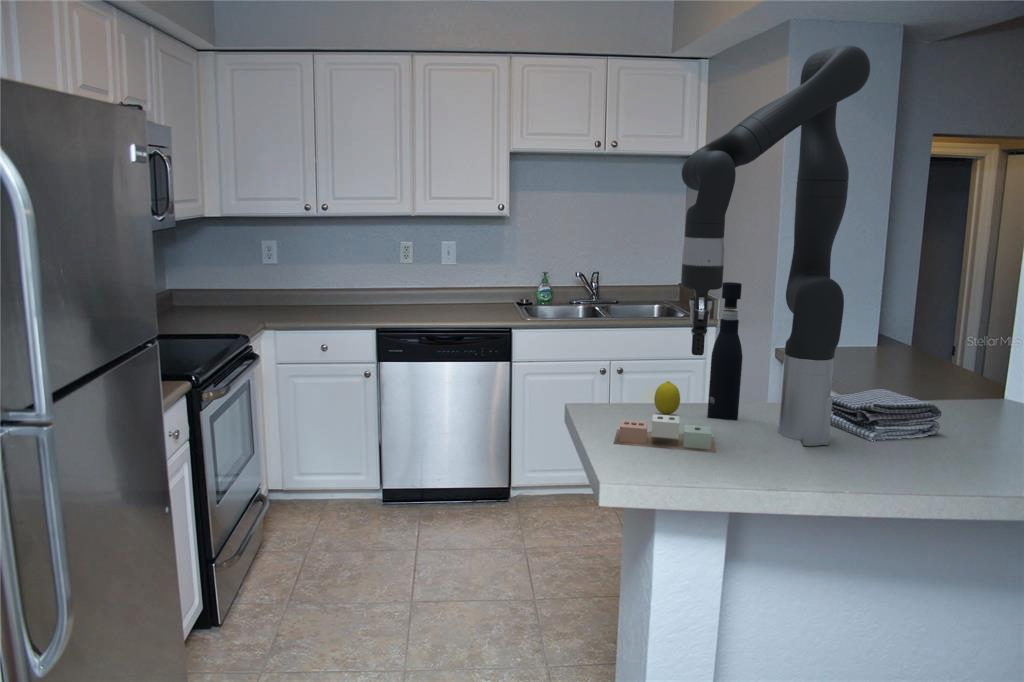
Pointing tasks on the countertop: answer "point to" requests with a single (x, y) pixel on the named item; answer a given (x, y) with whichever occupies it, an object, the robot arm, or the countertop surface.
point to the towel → (884, 415)
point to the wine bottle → (726, 360)
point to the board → (664, 443)
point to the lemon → (667, 398)
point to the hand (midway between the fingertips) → (697, 354)
